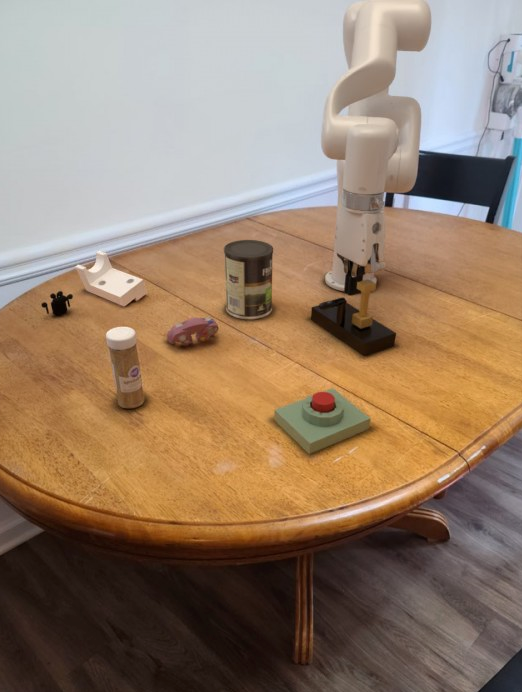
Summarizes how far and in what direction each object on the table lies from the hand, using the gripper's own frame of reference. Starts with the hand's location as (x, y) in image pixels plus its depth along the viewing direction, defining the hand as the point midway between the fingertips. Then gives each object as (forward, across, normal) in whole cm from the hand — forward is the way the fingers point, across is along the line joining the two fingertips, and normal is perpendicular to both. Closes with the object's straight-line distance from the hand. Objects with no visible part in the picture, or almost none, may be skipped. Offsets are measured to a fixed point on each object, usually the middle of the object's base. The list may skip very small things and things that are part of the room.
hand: (352, 292), depth 113 cm
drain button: (+6, -23, +24) cm, 33 cm away
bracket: (+9, +41, +36) cm, 55 cm away
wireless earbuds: (+9, +37, +49) cm, 62 cm away
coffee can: (+9, +19, +13) cm, 25 cm away
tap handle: (+6, -4, 0) cm, 7 cm away
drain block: (+9, -23, +24) cm, 34 cm away
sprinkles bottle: (+9, -1, +48) cm, 49 cm away
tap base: (+9, -1, +2) cm, 9 cm away
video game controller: (+9, +12, +30) cm, 33 cm away
